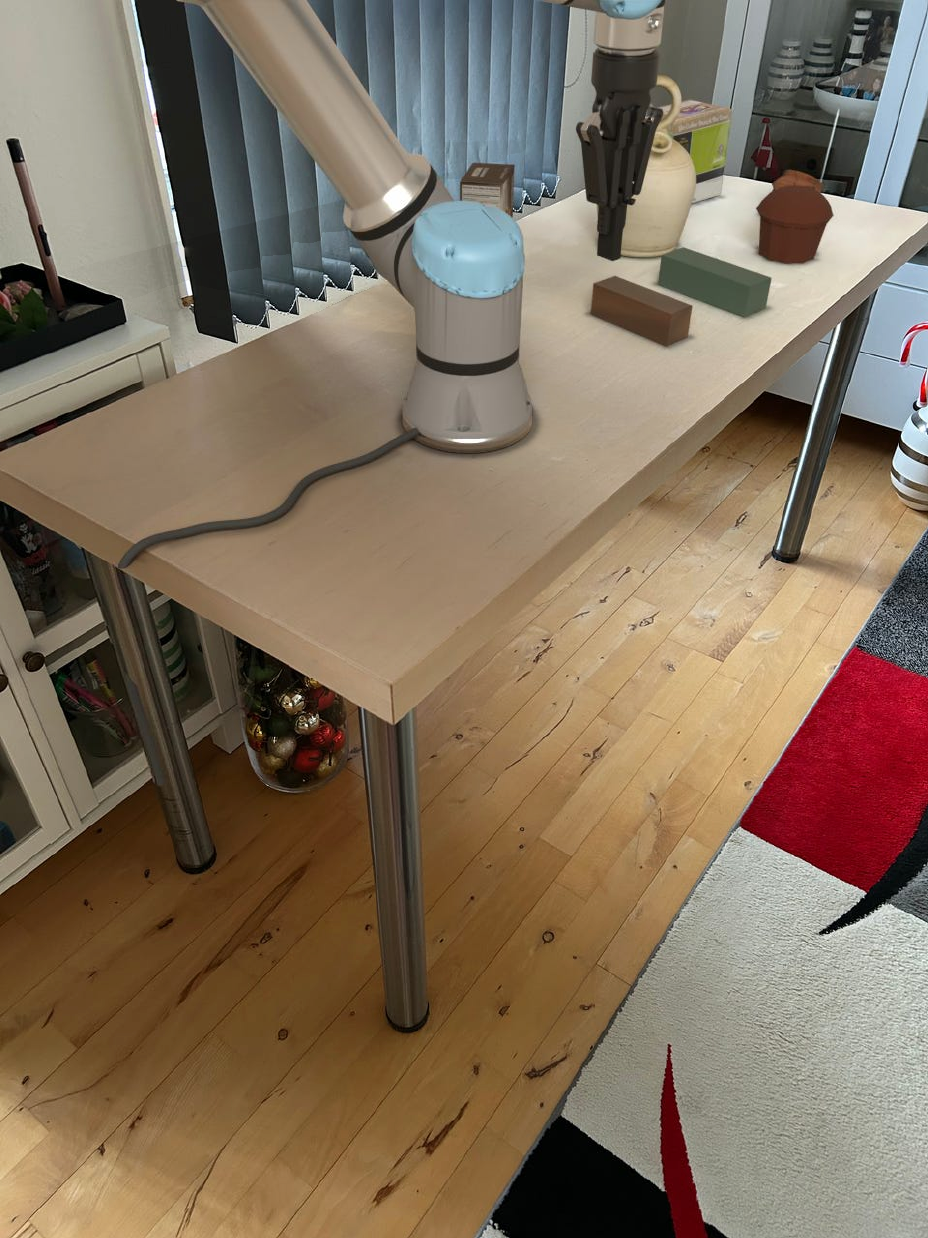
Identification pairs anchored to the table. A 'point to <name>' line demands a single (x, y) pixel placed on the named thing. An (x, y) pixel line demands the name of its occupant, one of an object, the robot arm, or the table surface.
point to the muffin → (792, 223)
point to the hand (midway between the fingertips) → (608, 256)
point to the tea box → (703, 142)
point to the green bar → (714, 281)
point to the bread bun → (797, 180)
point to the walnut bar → (641, 310)
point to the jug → (661, 191)
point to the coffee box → (489, 185)
